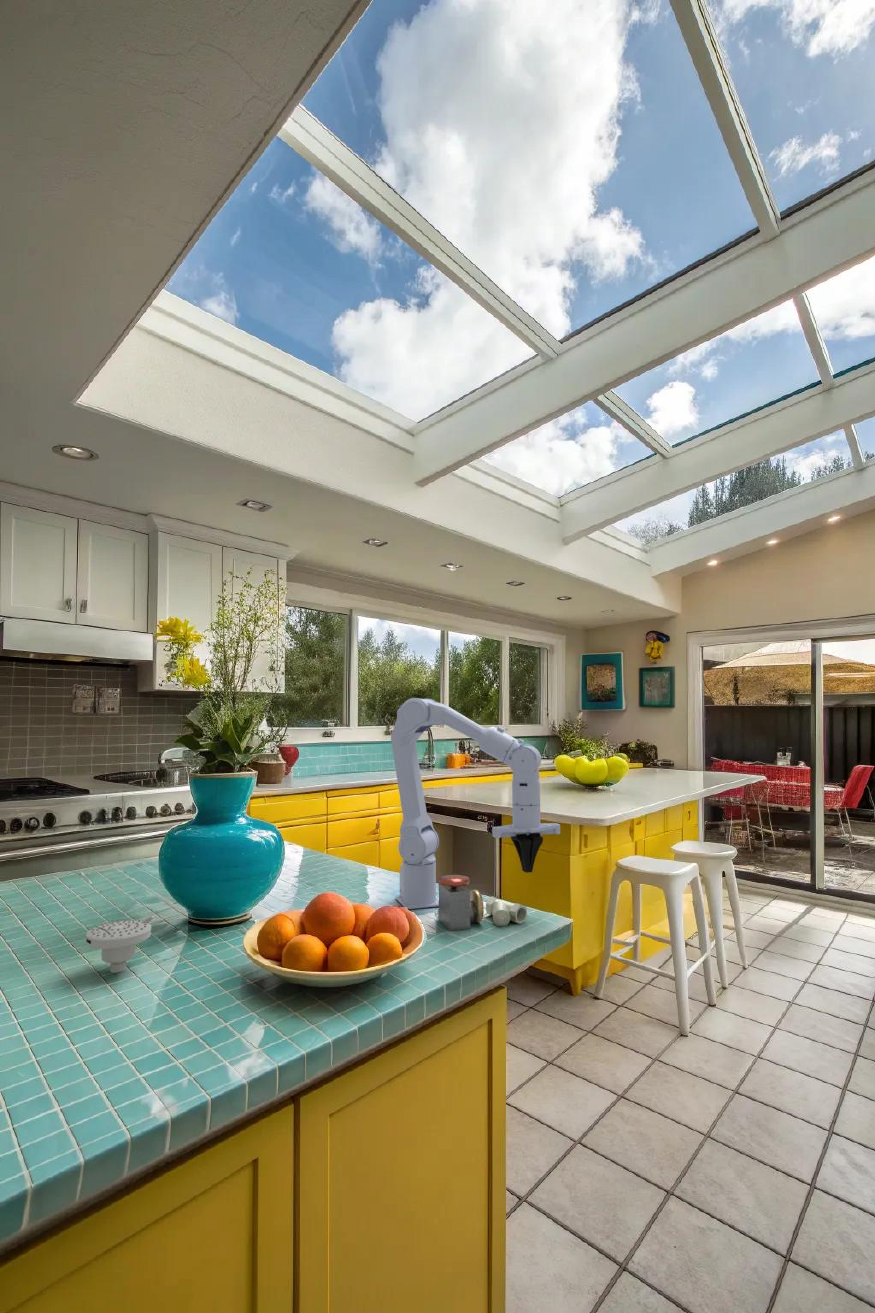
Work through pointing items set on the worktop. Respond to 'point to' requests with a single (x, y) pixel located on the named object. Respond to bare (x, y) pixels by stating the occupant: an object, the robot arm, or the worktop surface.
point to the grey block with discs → (458, 903)
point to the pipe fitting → (505, 911)
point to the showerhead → (118, 940)
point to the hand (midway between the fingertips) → (527, 871)
